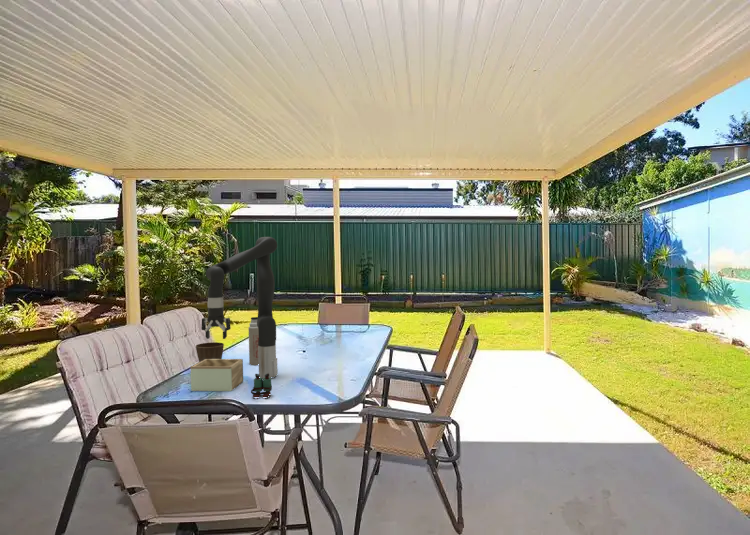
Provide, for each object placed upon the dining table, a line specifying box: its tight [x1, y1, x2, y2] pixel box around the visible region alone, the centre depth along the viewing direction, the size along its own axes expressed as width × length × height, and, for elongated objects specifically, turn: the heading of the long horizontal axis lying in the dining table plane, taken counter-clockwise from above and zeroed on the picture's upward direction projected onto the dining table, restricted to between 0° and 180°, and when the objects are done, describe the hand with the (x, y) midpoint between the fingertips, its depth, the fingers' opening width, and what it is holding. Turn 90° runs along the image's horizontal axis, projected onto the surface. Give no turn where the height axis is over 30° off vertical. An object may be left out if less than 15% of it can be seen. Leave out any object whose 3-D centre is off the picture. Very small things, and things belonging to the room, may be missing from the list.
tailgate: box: [190, 365, 233, 392], centre depth 246 cm, size 20×1×12 cm, turn 85°
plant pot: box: [195, 341, 225, 363], centre depth 281 cm, size 15×15×16 cm
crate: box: [193, 358, 244, 391], centre depth 255 cm, size 20×16×12 cm
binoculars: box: [250, 373, 273, 398], centre depth 234 cm, size 9×11×10 cm
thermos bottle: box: [248, 316, 259, 366], centre depth 302 cm, size 8×8×28 cm
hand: (216, 338), depth 253 cm, fingers open, 8 cm apart
